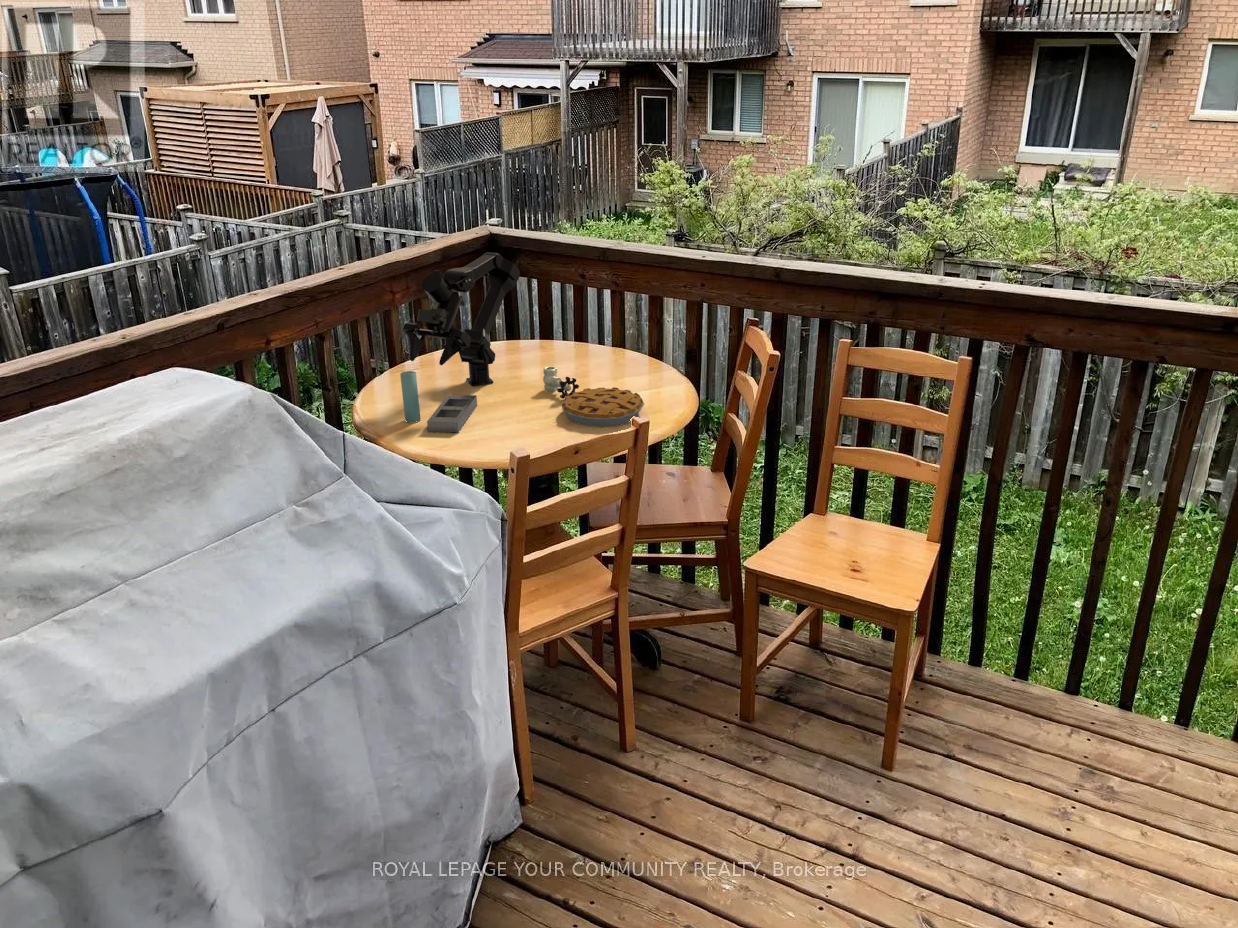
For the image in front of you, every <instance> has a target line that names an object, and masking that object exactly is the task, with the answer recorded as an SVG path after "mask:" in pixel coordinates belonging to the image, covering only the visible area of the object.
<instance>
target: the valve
mask: <svg viewBox="0 0 1238 928" xmlns="http://www.w3.org/2000/svg"><path fill="white" fill-rule="evenodd" d="M557 374H558V368H557V367H555V366H551V365H550V366H545V367H544V368H543V378H542V380H543V383H544V385H543V387H544V388H543V389H544V390H543V391H545V392H547V393H554V392H556V391H557V392H558V393H561V394H560V395H559V398H560V399H562V400H565V397H566V396H571V395H572V392H576V390H578V389H579V388H580V385H579V384H577V379H576V378H575V377H573V378H571V377H570V376H565V381H563V380H562V378H561V377H558V375H557ZM571 385H572V386H571ZM568 392H569V393H568Z"/></svg>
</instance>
